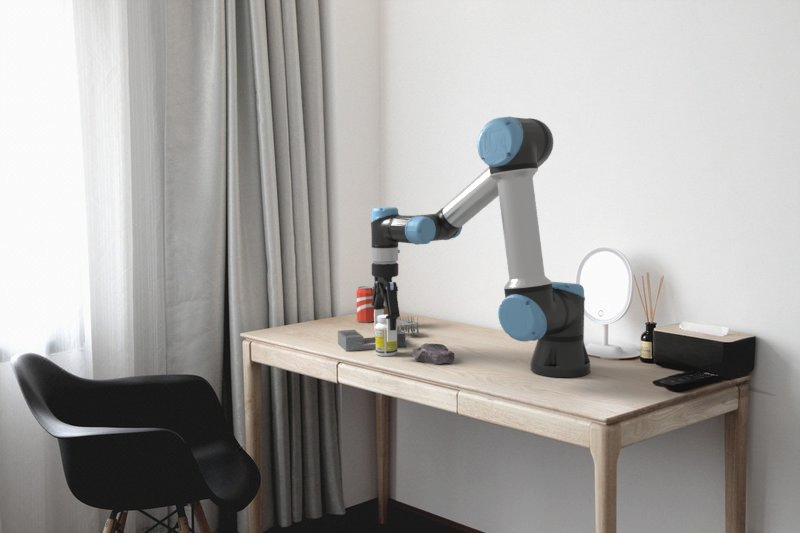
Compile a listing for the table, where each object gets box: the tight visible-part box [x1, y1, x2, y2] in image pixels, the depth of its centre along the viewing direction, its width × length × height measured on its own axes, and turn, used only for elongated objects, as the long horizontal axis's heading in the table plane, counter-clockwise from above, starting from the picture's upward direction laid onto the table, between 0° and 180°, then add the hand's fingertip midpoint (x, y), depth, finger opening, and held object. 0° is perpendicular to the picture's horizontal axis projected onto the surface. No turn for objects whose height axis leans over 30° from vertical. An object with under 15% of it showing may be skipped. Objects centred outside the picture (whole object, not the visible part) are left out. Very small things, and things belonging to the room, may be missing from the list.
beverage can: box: [355, 285, 375, 324], centre depth 286 cm, size 6×6×12 cm
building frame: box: [397, 316, 420, 339], centre depth 262 cm, size 6×8×6 cm
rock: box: [411, 343, 455, 365], centre depth 227 cm, size 8×11×4 cm
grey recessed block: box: [337, 327, 407, 352], centre depth 248 cm, size 11×18×4 cm, turn 107°
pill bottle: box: [374, 315, 398, 357], centre depth 236 cm, size 6×6×11 cm
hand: (385, 336), depth 236 cm, fingers open, 13 cm apart
